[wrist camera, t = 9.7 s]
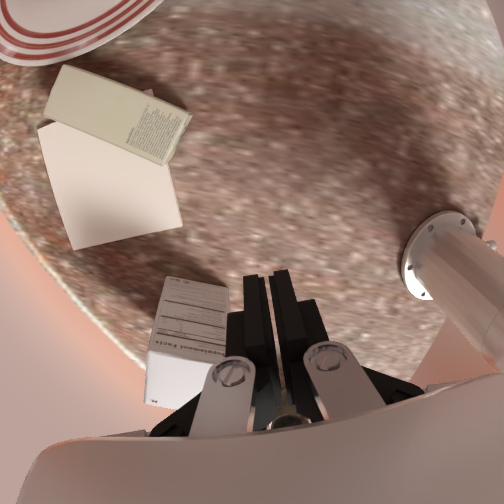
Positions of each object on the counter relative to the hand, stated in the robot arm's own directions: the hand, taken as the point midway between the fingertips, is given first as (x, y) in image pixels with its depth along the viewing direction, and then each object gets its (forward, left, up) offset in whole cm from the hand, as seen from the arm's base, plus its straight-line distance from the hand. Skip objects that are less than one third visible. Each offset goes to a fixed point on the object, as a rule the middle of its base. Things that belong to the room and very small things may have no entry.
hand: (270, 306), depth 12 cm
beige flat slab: (+13, -4, -21) cm, 25 cm away
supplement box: (+8, +13, -21) cm, 26 cm away
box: (+4, -5, -18) cm, 19 cm away
